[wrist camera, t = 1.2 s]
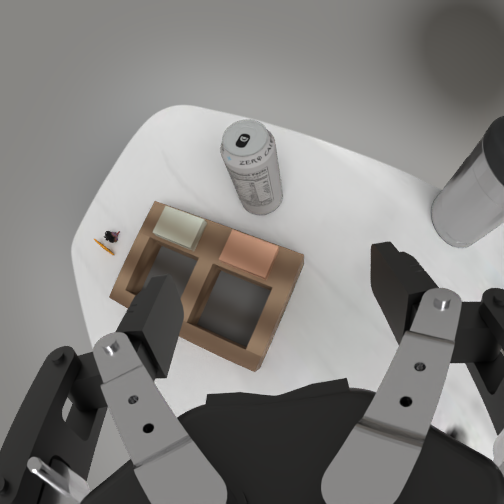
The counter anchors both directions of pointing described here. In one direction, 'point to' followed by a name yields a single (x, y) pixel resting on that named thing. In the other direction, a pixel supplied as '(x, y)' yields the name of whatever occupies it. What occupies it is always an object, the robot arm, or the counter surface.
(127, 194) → the counter surface
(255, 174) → the energy drink can
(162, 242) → the socket block
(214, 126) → the counter surface
